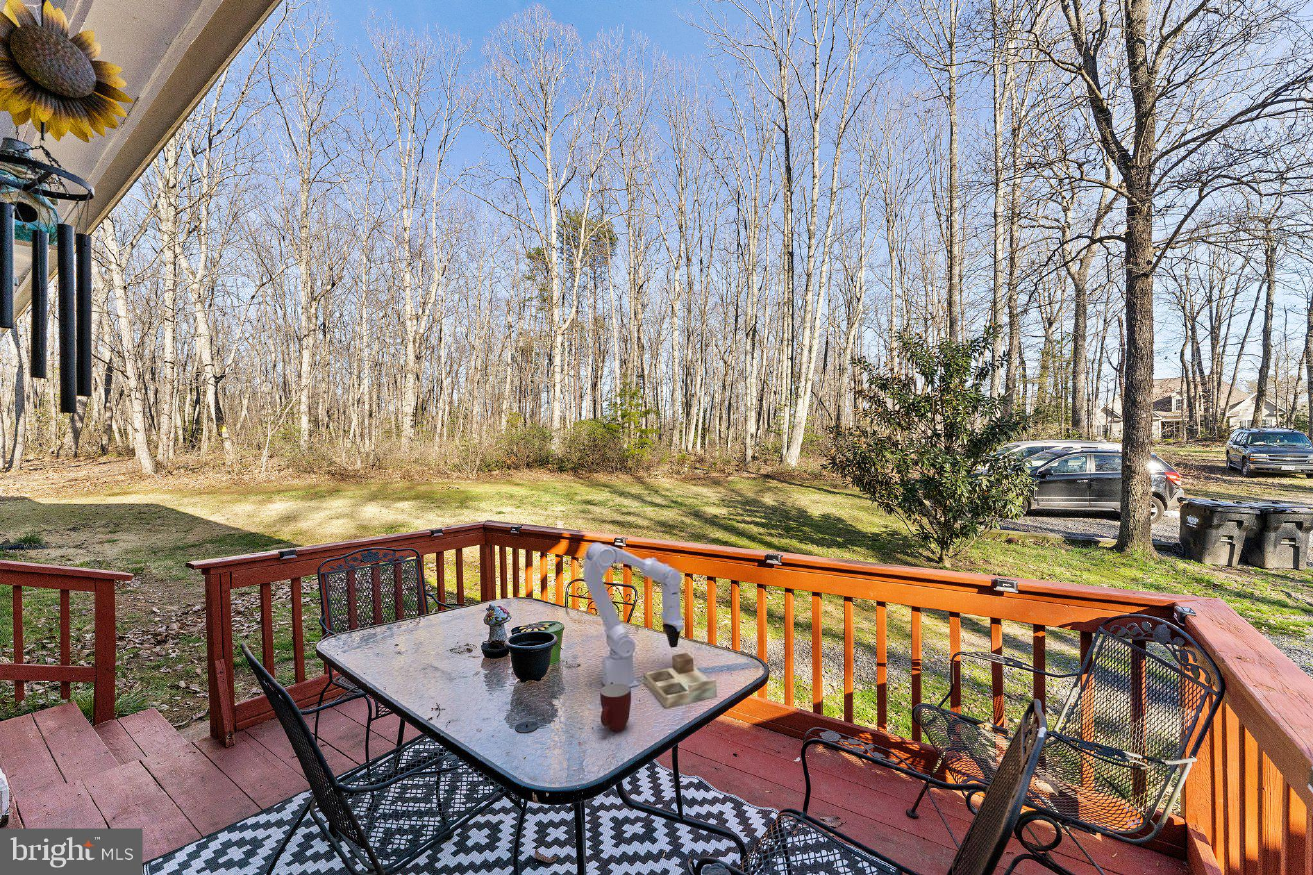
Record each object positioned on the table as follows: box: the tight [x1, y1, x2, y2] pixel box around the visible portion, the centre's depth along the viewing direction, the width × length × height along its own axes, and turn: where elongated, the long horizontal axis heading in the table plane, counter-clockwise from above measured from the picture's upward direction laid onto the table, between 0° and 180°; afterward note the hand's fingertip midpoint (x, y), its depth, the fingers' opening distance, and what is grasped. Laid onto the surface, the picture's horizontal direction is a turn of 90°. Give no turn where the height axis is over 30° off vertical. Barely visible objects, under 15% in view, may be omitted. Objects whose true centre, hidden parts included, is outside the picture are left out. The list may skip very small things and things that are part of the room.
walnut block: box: [671, 652, 695, 674], centre depth 176 cm, size 5×5×4 cm
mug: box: [599, 683, 632, 732], centre depth 148 cm, size 10×8×10 cm
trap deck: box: [643, 666, 718, 710], centre depth 169 cm, size 16×18×5 cm
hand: (673, 646), depth 183 cm, fingers closed
